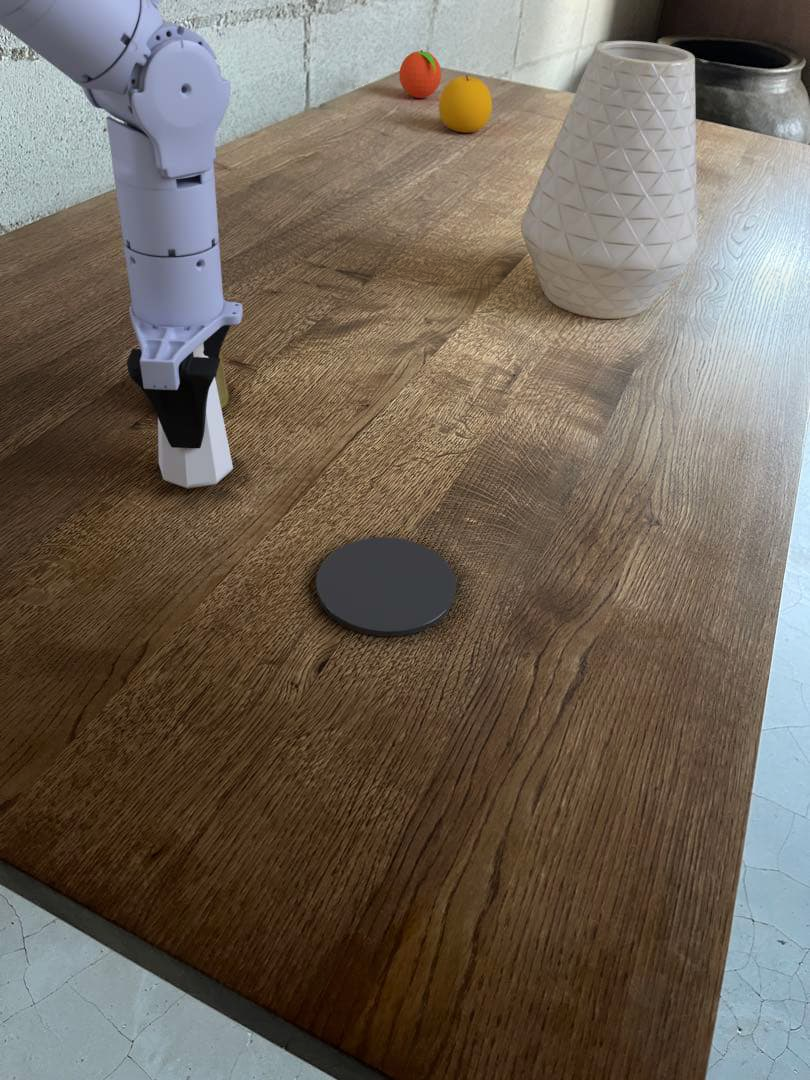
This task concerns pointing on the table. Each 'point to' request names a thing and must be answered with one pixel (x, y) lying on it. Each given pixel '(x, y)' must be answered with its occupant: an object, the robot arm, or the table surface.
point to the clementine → (420, 74)
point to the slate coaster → (386, 586)
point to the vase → (619, 184)
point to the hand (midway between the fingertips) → (191, 428)
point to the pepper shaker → (198, 462)
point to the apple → (465, 104)
